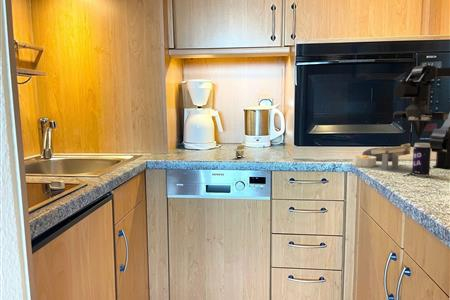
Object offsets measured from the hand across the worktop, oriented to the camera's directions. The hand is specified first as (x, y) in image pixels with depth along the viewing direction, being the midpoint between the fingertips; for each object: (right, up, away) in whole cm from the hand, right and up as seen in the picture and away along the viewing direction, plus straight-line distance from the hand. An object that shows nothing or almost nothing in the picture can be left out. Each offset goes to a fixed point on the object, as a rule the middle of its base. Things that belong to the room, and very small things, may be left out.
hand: (418, 137), depth 147 cm
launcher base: (-14, -13, +1) cm, 20 cm away
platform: (-70, -10, +36) cm, 79 cm away
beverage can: (-5, -15, -11) cm, 19 cm away
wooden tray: (-9, -7, +1) cm, 11 cm away
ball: (-19, -9, +6) cm, 22 cm away
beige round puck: (-19, -11, +7) cm, 23 cm away
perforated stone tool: (-7, -11, +20) cm, 24 cm away
